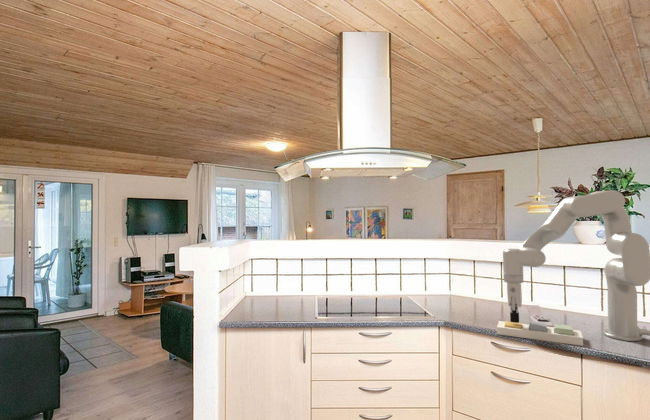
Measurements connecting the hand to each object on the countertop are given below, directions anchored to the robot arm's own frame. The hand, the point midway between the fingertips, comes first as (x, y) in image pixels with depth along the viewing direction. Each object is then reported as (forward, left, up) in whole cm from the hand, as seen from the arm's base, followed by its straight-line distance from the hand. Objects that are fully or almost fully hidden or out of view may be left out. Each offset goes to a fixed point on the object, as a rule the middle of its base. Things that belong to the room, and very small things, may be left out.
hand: (514, 321), depth 163 cm
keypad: (-9, 0, -5) cm, 10 cm away
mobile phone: (-9, -20, -5) cm, 23 cm away
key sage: (-18, 0, -2) cm, 18 cm away
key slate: (-9, 0, -2) cm, 9 cm away
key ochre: (0, 0, -3) cm, 3 cm away
